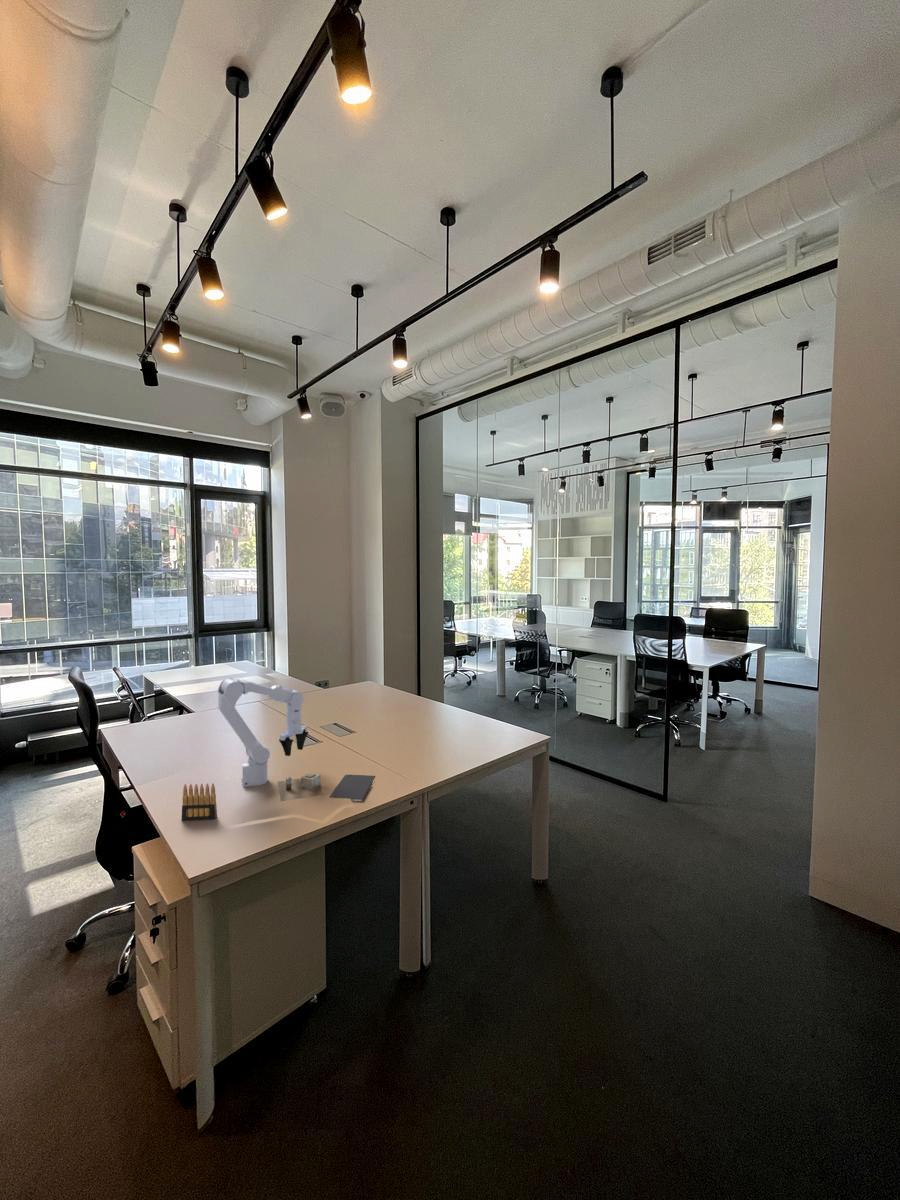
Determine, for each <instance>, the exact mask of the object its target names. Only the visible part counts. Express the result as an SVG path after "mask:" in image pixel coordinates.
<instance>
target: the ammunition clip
mask: <svg viewBox="0 0 900 1200" xmlns="http://www.w3.org/2000/svg"><path fill="white" fill-rule="evenodd" d="M216 799H217V795H216V787H215V784H214V783H213V782H212V784H211V787H210V786H209V783H206V785H205V788H204V784H203V783H201V784H200V787H199V786H198V783H195V786H194V789H193V785H192V783H190V785H189V787H188V786H187V784H186V783H185V784H184V786H183V790H182V806H181V819H180V820H181V822H185V821H188V822H192V821H206V820H207V821H209V820H216V819H217V817H218V809H217V807H218V806H217V800H216Z"/></svg>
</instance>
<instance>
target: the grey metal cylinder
mask: <svg viewBox="0 0 900 1200" xmlns="http://www.w3.org/2000/svg"><path fill="white" fill-rule="evenodd" d="M292 780H293V778H292V777H291V776H290V777H289V776H288V777H286V778H285V781H286V790H287V791H289V790H291V789H292Z"/></svg>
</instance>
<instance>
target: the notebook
mask: <svg viewBox="0 0 900 1200" xmlns="http://www.w3.org/2000/svg"><path fill="white" fill-rule="evenodd" d="M375 779H376V775H367V774H366V775H364V774H345V775H344V776H343V777H342V779H340V781H339V782H338V783H337V786H335V788H334V789H333V790H332V792H331V793H330V795H329V796H328V797H329V798H332V799H349V800H351V802H357V801H364V800H363V799H365V798H366V796H367V795H366V794H368V793H369V791H370V789H371V788H372V786H373V784H374V783H373V781H375ZM372 783H373V784H372ZM371 785H372V786H371ZM370 787H371V788H370ZM369 788H370V789H369ZM368 790H369V791H368ZM367 792H368V793H367Z"/></svg>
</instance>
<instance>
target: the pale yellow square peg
mask: <svg viewBox="0 0 900 1200" xmlns="http://www.w3.org/2000/svg"><path fill="white" fill-rule="evenodd" d="M307 774H308V773H307ZM315 774H316V773H314V774H308V775H307V776H306V777H308V778H313V777H314V776H315Z"/></svg>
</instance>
